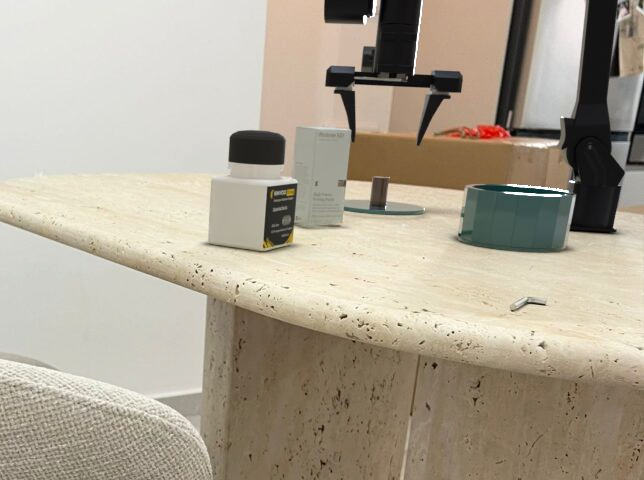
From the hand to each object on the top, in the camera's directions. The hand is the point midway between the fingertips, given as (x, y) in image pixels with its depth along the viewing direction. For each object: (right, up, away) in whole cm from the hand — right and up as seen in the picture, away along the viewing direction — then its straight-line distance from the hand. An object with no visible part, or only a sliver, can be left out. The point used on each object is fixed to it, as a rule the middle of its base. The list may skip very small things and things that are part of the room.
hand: (385, 144), depth 136 cm
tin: (+11, -19, -20) cm, 30 cm away
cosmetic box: (-12, -15, -13) cm, 23 cm away
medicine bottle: (-21, -21, -31) cm, 43 cm away
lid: (-1, -8, +3) cm, 9 cm away
